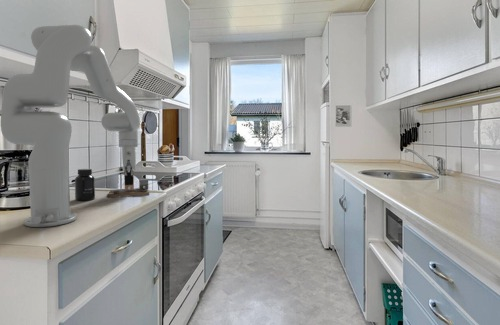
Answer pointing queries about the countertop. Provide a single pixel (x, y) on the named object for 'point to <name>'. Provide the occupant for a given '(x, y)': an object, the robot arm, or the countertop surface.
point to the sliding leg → (129, 187)
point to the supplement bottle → (84, 185)
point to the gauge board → (135, 192)
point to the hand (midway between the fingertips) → (129, 183)
